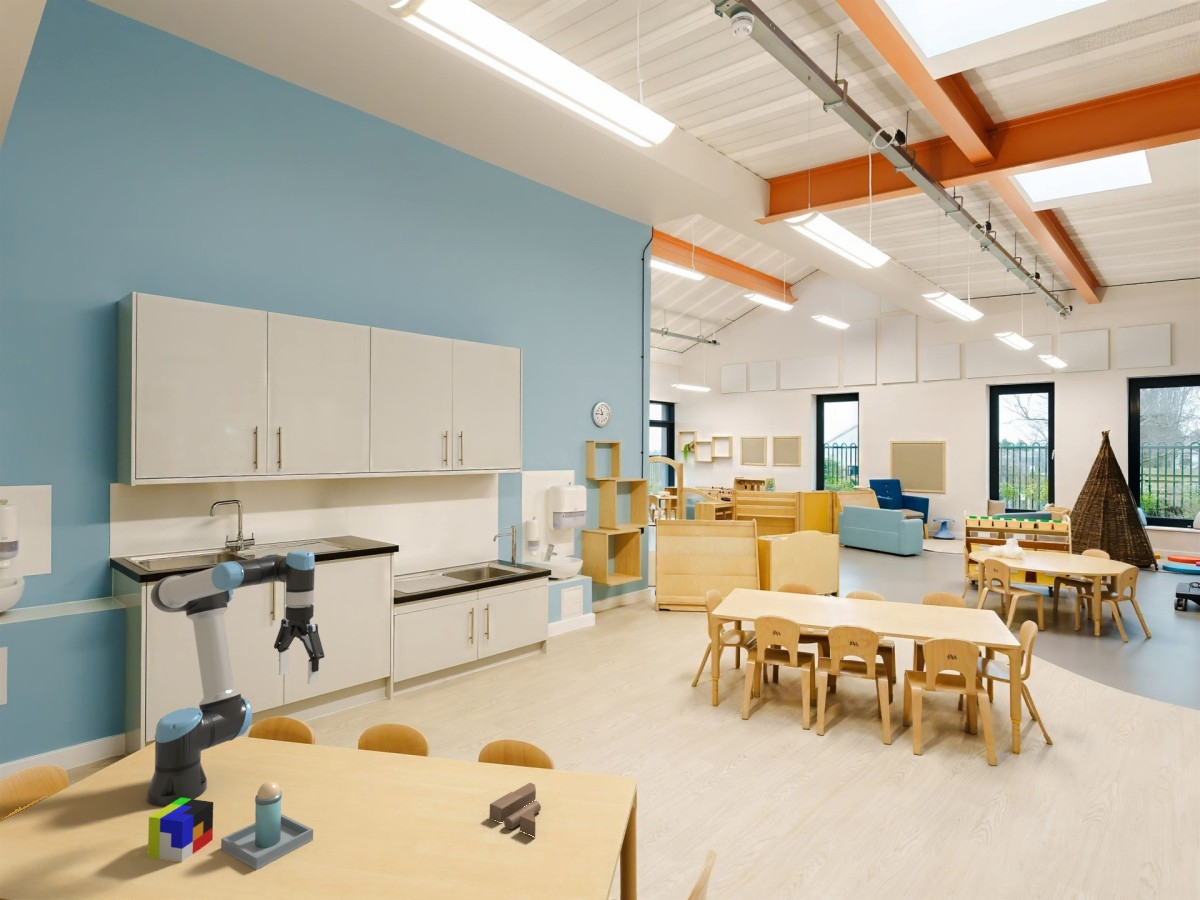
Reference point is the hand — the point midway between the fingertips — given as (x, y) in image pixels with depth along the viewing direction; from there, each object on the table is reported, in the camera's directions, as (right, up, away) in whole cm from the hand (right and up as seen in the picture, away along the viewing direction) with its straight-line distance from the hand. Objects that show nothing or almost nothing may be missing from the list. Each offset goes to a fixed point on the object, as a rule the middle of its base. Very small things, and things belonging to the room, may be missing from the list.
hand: (298, 678), depth 197 cm
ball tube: (+1, -36, -20) cm, 41 cm away
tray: (+1, -37, -20) cm, 42 cm away
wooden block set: (+68, -39, -4) cm, 78 cm away
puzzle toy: (-20, -36, -22) cm, 47 cm away
